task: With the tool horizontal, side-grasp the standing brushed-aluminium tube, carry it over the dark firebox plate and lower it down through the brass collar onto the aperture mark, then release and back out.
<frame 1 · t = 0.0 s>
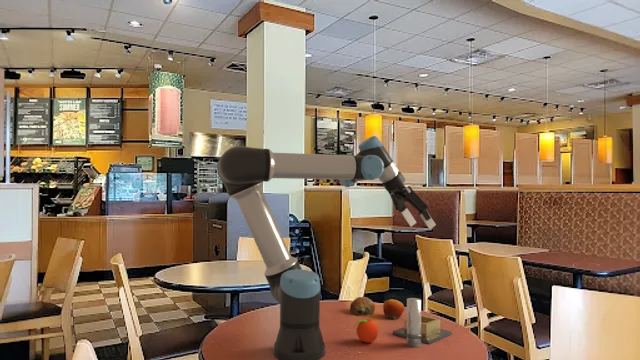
hand: (422, 225, 157), 36 cm above the table, tool tilted 35°, fingers open, 13 cm apart
clementine: (365, 342, 140), on the table
fruit: (393, 318, 169), on the table
bread roll: (362, 313, 176), on the table
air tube: (414, 344, 138), on the table
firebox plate: (422, 334, 149), on the table
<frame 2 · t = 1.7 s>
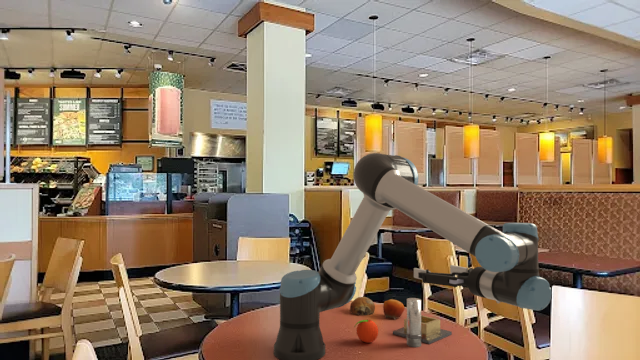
hand: (433, 271, 131), 24 cm above the table, tool horizontal, fingers open, 13 cm apart
nothing on the table moved.
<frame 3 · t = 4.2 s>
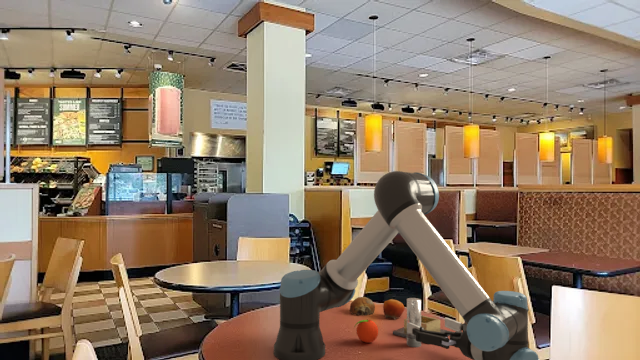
hand: (427, 324, 133), 8 cm above the table, tool horizontal, fingers open, 13 cm apart
nothing on the table moved.
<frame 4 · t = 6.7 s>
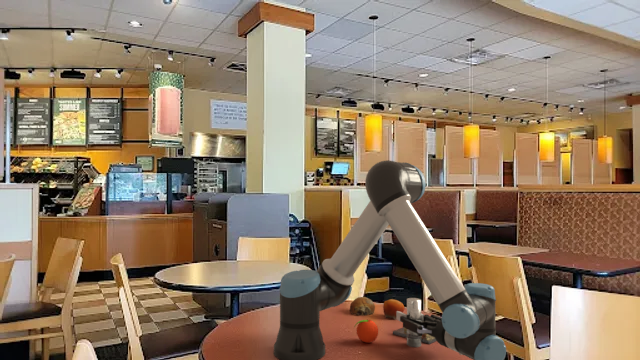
hand: (404, 314, 143), 8 cm above the table, tool horizontal, fingers closed on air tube, 4 cm apart
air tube: (414, 344, 138), on the table, touching gripper
everything else where it was.
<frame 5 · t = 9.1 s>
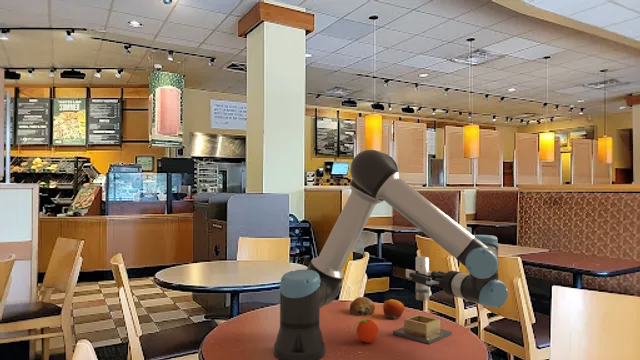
hand: (412, 272, 154), 20 cm above the table, tool horizontal, fingers closed on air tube, 4 cm apart
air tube: (422, 299, 149), point 12 cm above the table, touching gripper
everything else where it was.
when the fingers open (10 cm above the table, at t = 11.4 s): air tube drops 1 cm, resting on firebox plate.
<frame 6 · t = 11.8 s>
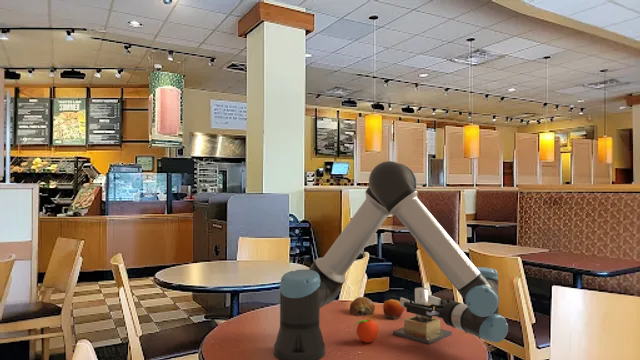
hand: (414, 300, 153), 10 cm above the table, tool horizontal, fingers open, 10 cm apart
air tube: (422, 330, 149), point 1 cm above the table, touching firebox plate
everything else where it was.
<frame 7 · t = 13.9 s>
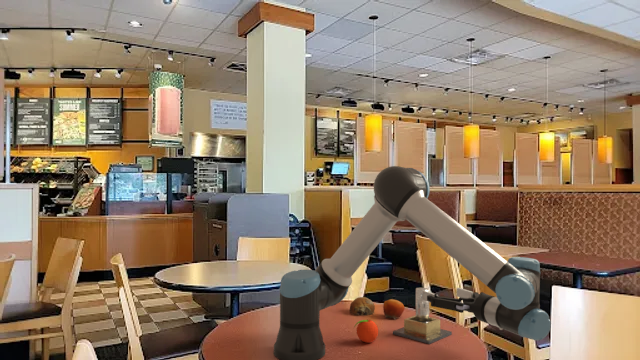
hand: (440, 293, 140), 16 cm above the table, tool horizontal, fingers open, 13 cm apart
nothing on the table moved.
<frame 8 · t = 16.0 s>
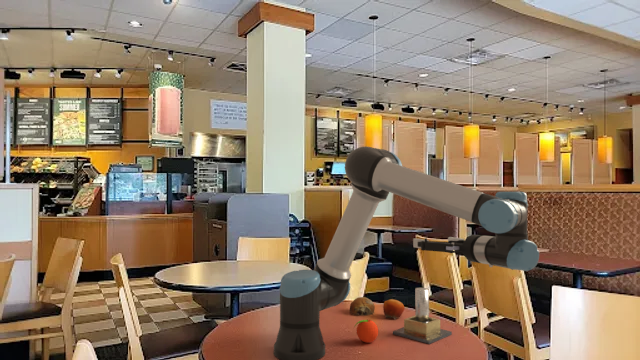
hand: (431, 241, 139), 32 cm above the table, tool horizontal, fingers open, 13 cm apart
nothing on the table moved.
at the end: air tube 0.1 cm off-centre on the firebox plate, point 1.1 cm above the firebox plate's base; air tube tilted 0°; the gripper is holding nothing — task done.
